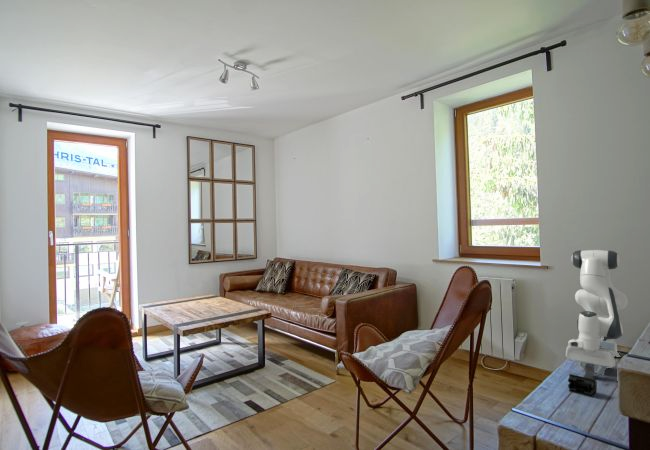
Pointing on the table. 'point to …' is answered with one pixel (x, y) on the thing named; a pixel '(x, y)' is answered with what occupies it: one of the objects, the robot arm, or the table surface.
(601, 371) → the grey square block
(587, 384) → the end cap
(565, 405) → the table surface
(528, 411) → the table surface
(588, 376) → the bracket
